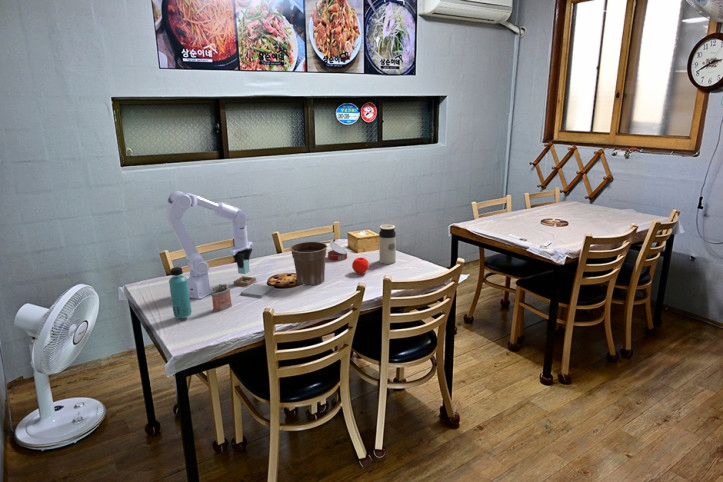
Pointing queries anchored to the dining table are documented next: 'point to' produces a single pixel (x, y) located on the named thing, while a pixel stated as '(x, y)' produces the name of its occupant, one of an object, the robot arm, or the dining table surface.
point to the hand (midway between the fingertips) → (243, 266)
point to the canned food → (337, 252)
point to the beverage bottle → (179, 293)
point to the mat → (257, 290)
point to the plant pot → (309, 262)
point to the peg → (244, 267)
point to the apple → (360, 265)
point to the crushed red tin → (221, 298)
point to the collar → (249, 279)
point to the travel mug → (387, 244)
